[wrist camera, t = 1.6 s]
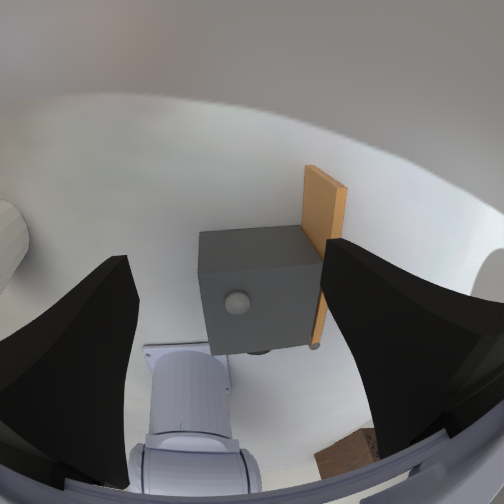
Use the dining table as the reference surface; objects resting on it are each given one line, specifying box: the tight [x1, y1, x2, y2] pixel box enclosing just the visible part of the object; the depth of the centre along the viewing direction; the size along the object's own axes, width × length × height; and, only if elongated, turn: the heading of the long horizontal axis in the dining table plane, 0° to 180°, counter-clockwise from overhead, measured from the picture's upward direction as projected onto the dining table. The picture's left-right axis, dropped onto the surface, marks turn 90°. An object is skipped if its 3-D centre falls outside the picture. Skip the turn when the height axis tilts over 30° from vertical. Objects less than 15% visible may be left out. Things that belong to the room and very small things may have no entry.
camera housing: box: [198, 225, 323, 356], centre depth 19 cm, size 8×7×6 cm
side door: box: [301, 165, 347, 350], centre depth 18 cm, size 12×1×5 cm, turn 0°
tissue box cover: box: [314, 428, 380, 480], centre depth 51 cm, size 26×14×10 cm, turn 53°
